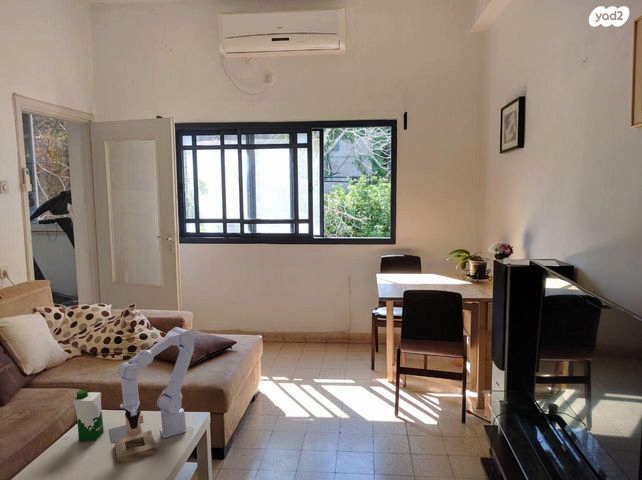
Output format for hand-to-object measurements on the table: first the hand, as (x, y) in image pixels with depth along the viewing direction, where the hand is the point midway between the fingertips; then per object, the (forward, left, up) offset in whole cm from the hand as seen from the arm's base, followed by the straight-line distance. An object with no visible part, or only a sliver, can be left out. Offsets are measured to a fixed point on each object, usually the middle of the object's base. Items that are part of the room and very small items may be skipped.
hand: (133, 425), depth 179 cm
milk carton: (+15, -20, -10) cm, 27 cm away
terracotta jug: (0, 0, -3) cm, 3 cm away
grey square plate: (+2, -16, -10) cm, 19 cm away
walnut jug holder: (0, 0, -10) cm, 10 cm away
